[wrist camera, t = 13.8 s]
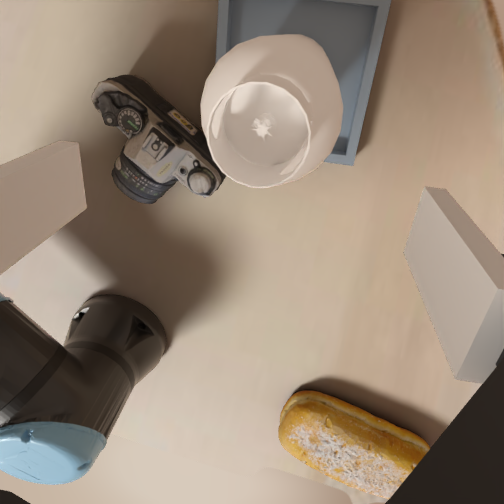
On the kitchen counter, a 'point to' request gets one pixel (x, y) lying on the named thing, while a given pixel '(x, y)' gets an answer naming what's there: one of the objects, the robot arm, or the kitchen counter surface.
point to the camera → (154, 142)
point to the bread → (349, 443)
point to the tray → (328, 37)
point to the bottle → (271, 110)
